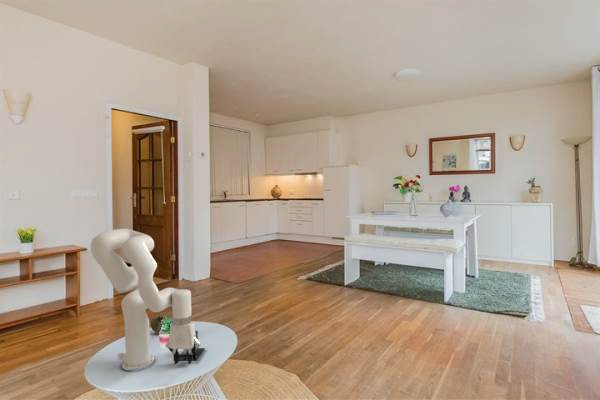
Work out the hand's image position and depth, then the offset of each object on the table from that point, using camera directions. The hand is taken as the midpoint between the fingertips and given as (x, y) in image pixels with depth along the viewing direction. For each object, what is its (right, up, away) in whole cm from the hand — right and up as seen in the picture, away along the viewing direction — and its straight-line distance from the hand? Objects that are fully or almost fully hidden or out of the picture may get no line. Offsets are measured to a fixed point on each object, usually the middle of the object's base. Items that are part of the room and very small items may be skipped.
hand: (183, 362), depth 143 cm
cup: (-25, -2, +34) cm, 42 cm away
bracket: (0, -2, +9) cm, 9 cm away
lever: (0, +4, +5) cm, 7 cm away
